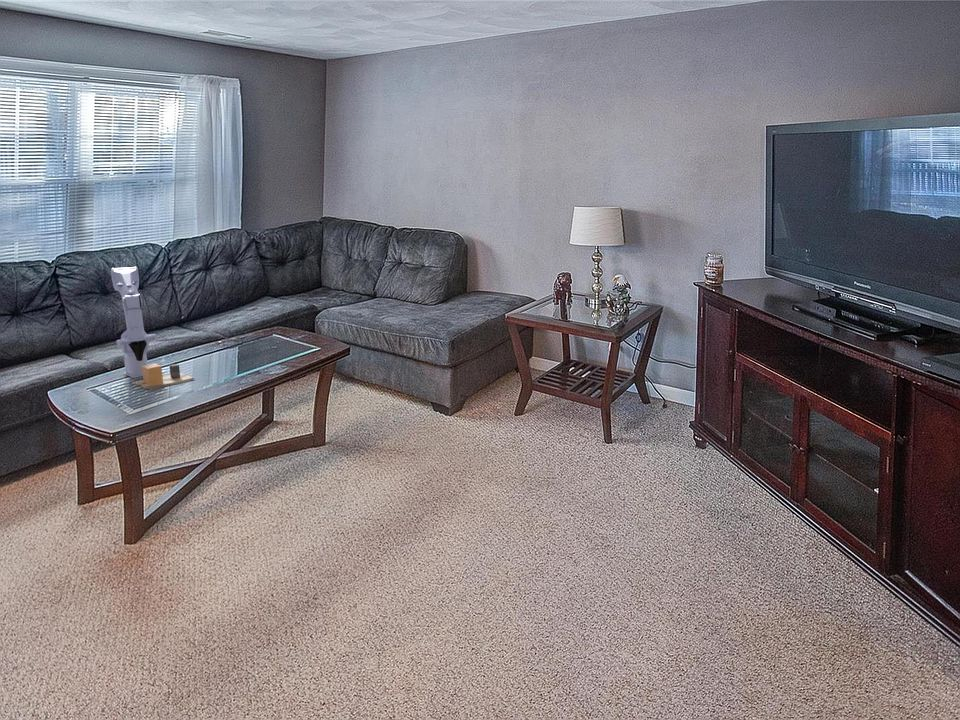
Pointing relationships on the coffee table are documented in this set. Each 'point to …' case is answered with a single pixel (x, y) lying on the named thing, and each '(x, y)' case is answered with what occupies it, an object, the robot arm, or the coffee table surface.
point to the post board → (168, 379)
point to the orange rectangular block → (152, 374)
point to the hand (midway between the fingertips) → (139, 360)
